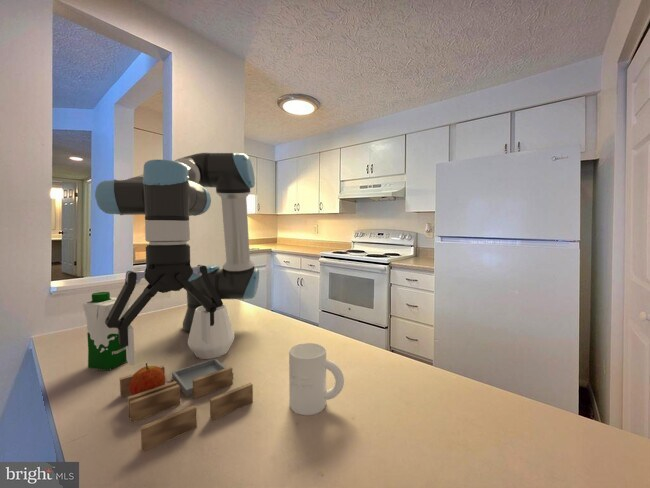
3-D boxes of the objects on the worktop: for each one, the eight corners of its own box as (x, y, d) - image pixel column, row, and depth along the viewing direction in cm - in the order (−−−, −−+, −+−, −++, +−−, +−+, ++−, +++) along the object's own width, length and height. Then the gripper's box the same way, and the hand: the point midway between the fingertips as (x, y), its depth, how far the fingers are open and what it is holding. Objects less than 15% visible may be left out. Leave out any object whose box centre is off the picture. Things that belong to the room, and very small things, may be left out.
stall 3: (230, 382, 72) (230, 366, 72) (252, 401, 64) (252, 384, 64) (193, 396, 66) (192, 379, 66) (212, 420, 58) (211, 401, 58)
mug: (340, 422, 58) (340, 363, 57) (283, 413, 60) (283, 356, 60) (346, 398, 66) (347, 346, 65) (296, 391, 68) (296, 341, 68)
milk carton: (111, 355, 87) (108, 289, 86) (137, 358, 85) (134, 290, 84) (81, 369, 79) (77, 296, 77) (109, 372, 77) (105, 298, 76)
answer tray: (215, 363, 82) (215, 358, 82) (233, 379, 74) (233, 373, 73) (172, 378, 74) (171, 372, 74) (186, 396, 66) (186, 390, 66)
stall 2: (178, 402, 64) (178, 384, 64) (196, 427, 56) (196, 407, 56) (130, 420, 58) (129, 401, 58) (142, 452, 50) (141, 429, 50)
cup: (243, 346, 94) (242, 303, 93) (215, 365, 81) (213, 316, 80) (209, 341, 98) (208, 300, 97) (177, 358, 85) (176, 311, 85)
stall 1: (163, 380, 73) (163, 365, 73) (177, 400, 65) (176, 382, 64) (120, 395, 67) (119, 378, 66) (129, 418, 59) (128, 399, 58)
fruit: (170, 397, 66) (169, 363, 65) (135, 411, 61) (133, 374, 60) (160, 385, 71) (159, 353, 70) (126, 398, 66) (124, 363, 65)
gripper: (222, 240, 67) (223, 330, 68) (82, 245, 50) (87, 365, 51) (237, 241, 62) (239, 339, 63) (87, 247, 45) (93, 381, 46)
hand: (171, 351), depth 57 cm, fingers open, 13 cm apart
